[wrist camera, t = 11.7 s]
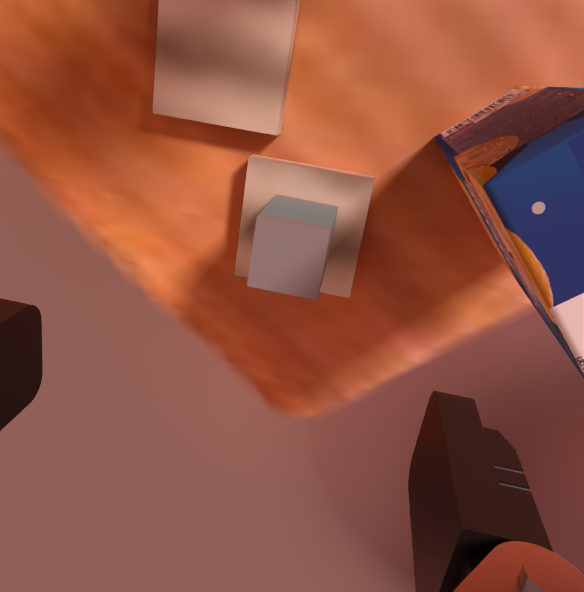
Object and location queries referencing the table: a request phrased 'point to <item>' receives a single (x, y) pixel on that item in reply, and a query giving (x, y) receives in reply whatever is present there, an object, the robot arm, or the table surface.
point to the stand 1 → (225, 61)
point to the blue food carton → (531, 196)
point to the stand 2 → (314, 187)
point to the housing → (292, 246)
